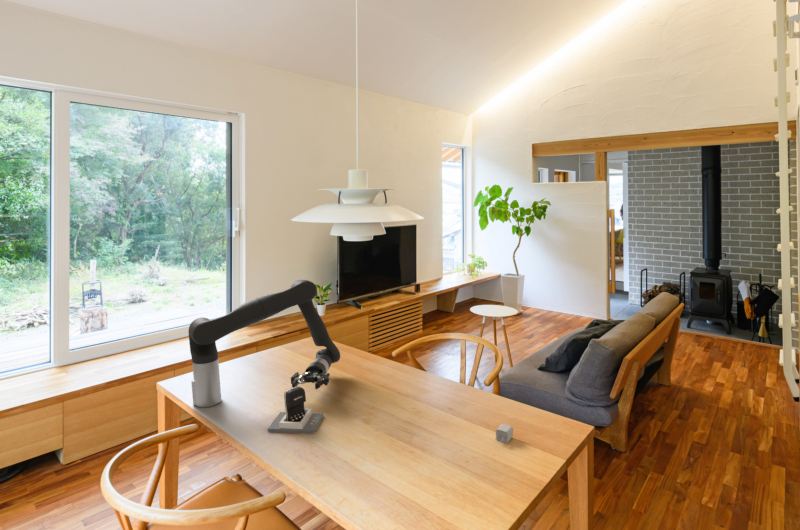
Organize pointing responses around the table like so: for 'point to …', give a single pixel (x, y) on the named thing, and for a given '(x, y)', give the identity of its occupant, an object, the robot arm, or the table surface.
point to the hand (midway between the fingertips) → (304, 386)
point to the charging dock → (296, 423)
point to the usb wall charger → (504, 433)
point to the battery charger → (294, 404)
